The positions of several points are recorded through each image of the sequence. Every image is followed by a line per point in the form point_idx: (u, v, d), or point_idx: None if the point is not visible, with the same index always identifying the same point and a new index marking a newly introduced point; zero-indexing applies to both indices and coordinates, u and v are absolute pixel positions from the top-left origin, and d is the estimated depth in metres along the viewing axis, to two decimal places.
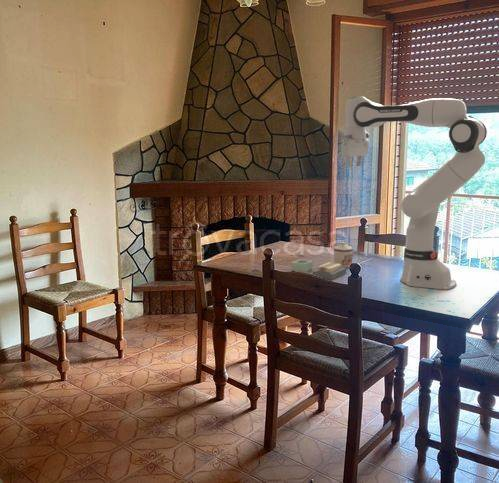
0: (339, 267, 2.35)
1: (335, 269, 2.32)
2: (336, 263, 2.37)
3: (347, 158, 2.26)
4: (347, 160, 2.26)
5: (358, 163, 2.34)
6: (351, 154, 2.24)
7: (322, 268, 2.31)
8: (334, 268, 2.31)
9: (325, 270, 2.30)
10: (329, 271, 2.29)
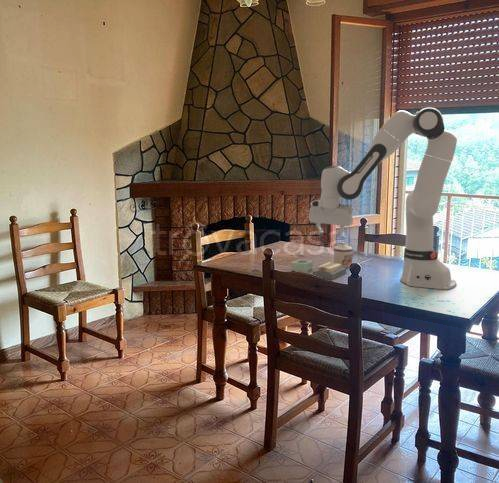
0: (339, 267, 2.35)
1: (335, 269, 2.32)
2: (336, 263, 2.37)
3: (343, 226, 2.27)
4: (342, 228, 2.27)
5: (322, 230, 2.34)
6: None
7: (322, 268, 2.31)
8: (334, 268, 2.31)
9: (325, 270, 2.30)
10: (329, 271, 2.29)
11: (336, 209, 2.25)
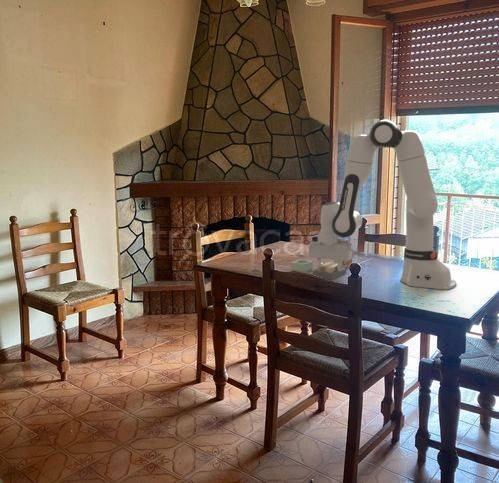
0: None
1: None
2: (336, 263, 2.37)
3: (341, 261, 2.30)
4: (340, 263, 2.30)
5: None
6: None
7: (322, 268, 2.31)
8: (334, 268, 2.31)
9: (325, 270, 2.30)
10: (329, 271, 2.29)
11: (335, 245, 2.29)
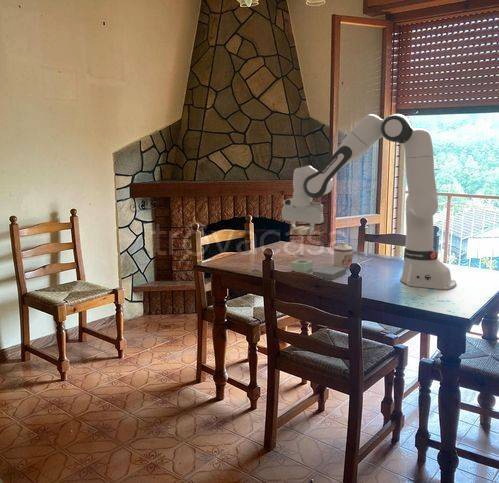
0: (312, 230, 2.40)
1: (307, 231, 2.37)
2: None
3: (313, 224, 2.35)
4: (312, 226, 2.35)
5: None
6: None
7: (294, 230, 2.35)
8: (306, 231, 2.36)
9: (297, 232, 2.35)
10: (301, 233, 2.34)
11: (307, 207, 2.33)
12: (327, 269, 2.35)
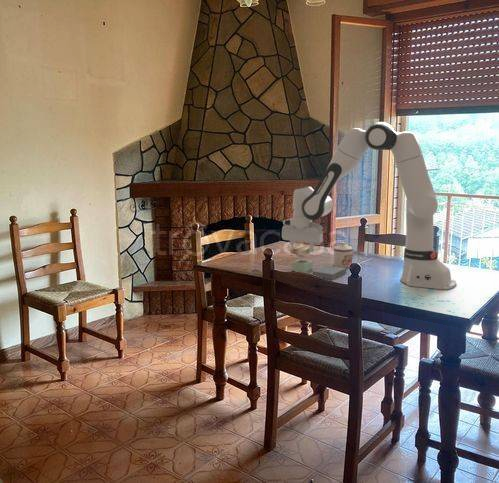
0: None
1: (307, 252, 2.38)
2: None
3: (312, 244, 2.37)
4: (312, 246, 2.37)
5: None
6: None
7: (294, 251, 2.37)
8: (306, 251, 2.38)
9: (297, 252, 2.36)
10: (301, 253, 2.35)
11: (307, 228, 2.35)
12: (327, 269, 2.35)
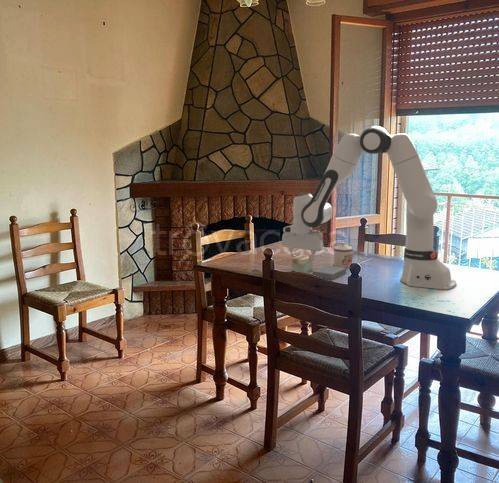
0: None
1: (307, 261, 2.39)
2: None
3: (314, 251, 2.37)
4: (313, 253, 2.37)
5: (294, 254, 2.44)
6: None
7: (295, 260, 2.38)
8: (306, 260, 2.38)
9: (297, 262, 2.37)
10: (301, 263, 2.36)
11: (307, 235, 2.36)
12: (327, 269, 2.35)
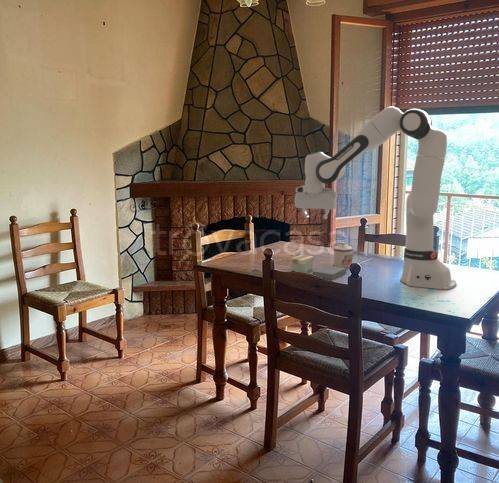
0: (311, 259, 2.42)
1: (307, 261, 2.39)
2: None
3: (328, 210, 2.34)
4: (327, 212, 2.35)
5: (308, 215, 2.41)
6: None
7: (295, 260, 2.38)
8: (306, 260, 2.38)
9: (297, 262, 2.37)
10: (301, 263, 2.36)
11: (320, 194, 2.33)
12: (327, 269, 2.35)
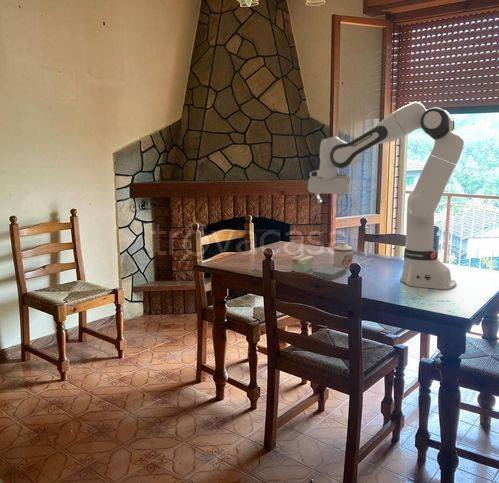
0: (311, 259, 2.42)
1: (307, 261, 2.39)
2: None
3: (341, 195, 2.35)
4: (340, 197, 2.35)
5: (321, 200, 2.42)
6: None
7: (295, 260, 2.38)
8: (306, 260, 2.38)
9: (297, 262, 2.37)
10: (301, 263, 2.36)
11: (334, 178, 2.34)
12: (327, 269, 2.35)
